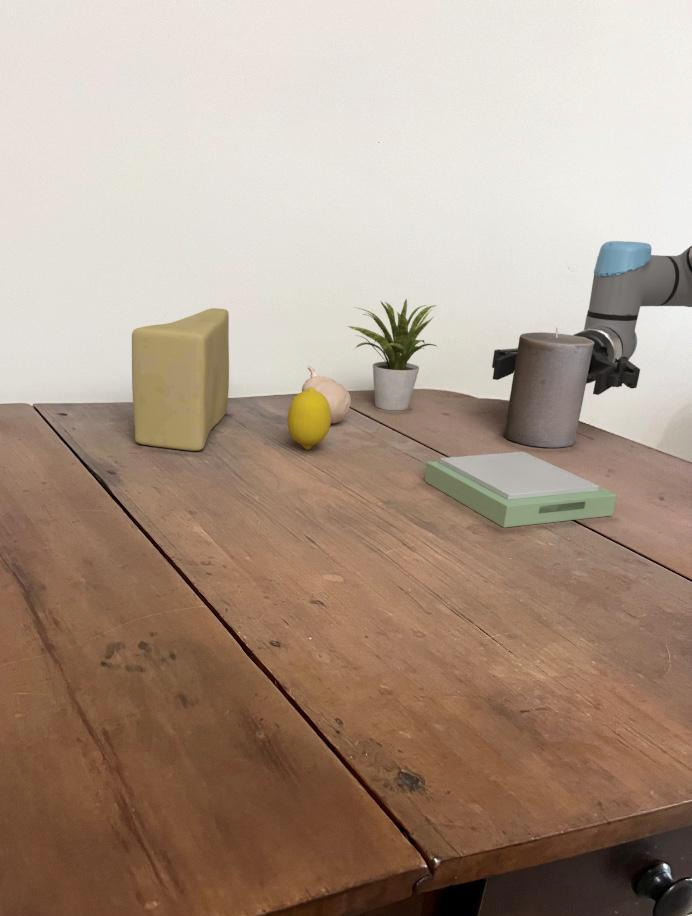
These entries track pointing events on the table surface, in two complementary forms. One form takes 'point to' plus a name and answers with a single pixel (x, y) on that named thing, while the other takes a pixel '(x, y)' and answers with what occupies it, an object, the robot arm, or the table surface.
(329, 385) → the garlic bulb
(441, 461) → the scale
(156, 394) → the cheese
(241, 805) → the table surface
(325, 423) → the lemon
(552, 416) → the pillar candle
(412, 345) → the house plant
